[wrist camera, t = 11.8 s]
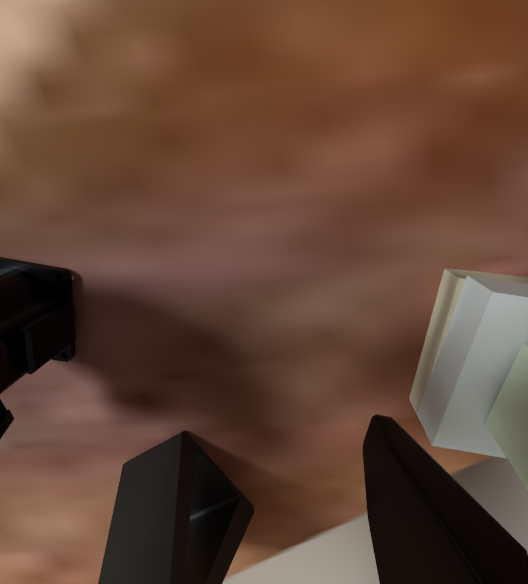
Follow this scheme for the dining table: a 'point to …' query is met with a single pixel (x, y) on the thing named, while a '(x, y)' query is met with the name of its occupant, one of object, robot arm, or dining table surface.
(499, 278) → the base slab
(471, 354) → the top slab
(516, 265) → the dining table surface
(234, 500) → the phone stand
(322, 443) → the dining table surface
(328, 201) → the dining table surface
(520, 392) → the pillar
